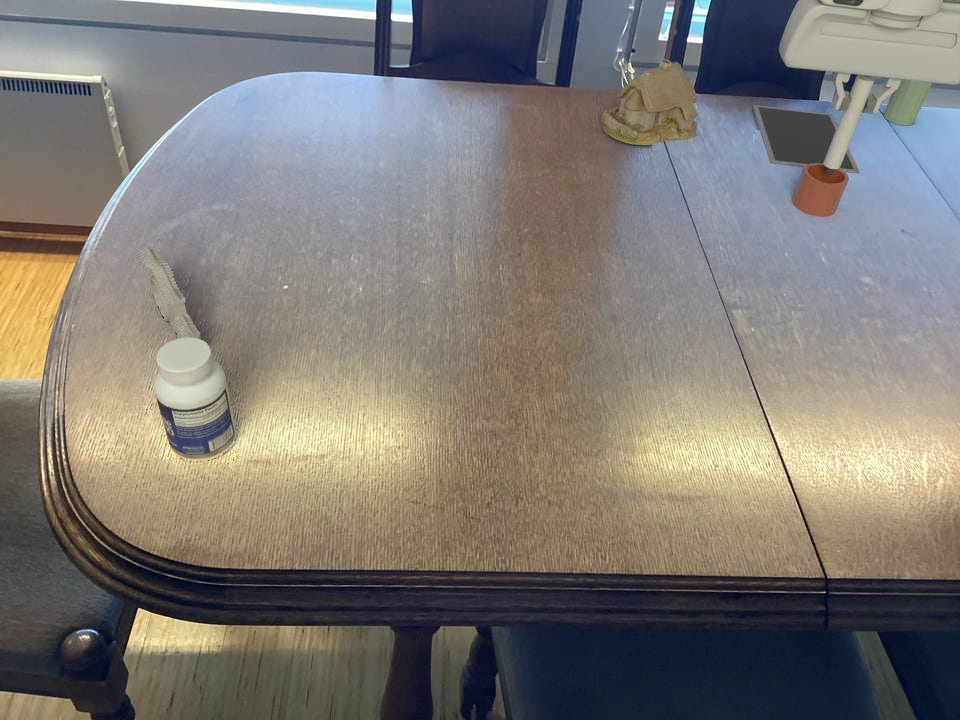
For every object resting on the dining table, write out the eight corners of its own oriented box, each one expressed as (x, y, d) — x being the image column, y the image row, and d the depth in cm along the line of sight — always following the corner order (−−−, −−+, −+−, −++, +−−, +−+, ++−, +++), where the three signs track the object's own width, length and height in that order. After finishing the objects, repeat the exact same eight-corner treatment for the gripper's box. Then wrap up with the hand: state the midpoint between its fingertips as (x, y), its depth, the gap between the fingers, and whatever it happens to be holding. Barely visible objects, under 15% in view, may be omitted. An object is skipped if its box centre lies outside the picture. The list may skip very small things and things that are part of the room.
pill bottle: (171, 421, 70) (148, 334, 63) (236, 414, 71) (220, 327, 64) (168, 469, 66) (143, 381, 59) (237, 460, 67) (220, 374, 60)
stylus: (835, 169, 101) (872, 75, 93) (838, 177, 100) (876, 82, 92) (818, 167, 101) (854, 73, 93) (822, 175, 100) (858, 80, 92)
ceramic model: (657, 104, 124) (672, 38, 117) (712, 135, 117) (731, 67, 111) (587, 124, 117) (599, 55, 111) (641, 158, 111) (657, 86, 104)
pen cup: (909, 114, 128) (929, 70, 123) (917, 127, 124) (938, 82, 120) (879, 110, 128) (898, 66, 123) (887, 123, 125) (906, 79, 120)
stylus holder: (829, 200, 106) (843, 165, 102) (838, 222, 102) (853, 187, 98) (787, 195, 106) (800, 160, 103) (794, 217, 102) (808, 182, 99)
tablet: (830, 119, 124) (832, 113, 124) (857, 177, 111) (860, 171, 110) (751, 109, 125) (753, 104, 124) (768, 166, 112) (770, 161, 111)
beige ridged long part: (206, 356, 76) (196, 306, 72) (187, 363, 75) (175, 312, 71) (165, 287, 83) (153, 238, 79) (147, 292, 82) (134, 243, 78)
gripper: (991, -15, 88) (935, 108, 97) (799, -34, 88) (761, 89, 98) (1013, 5, 83) (952, 132, 92) (810, -15, 84) (769, 112, 93)
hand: (852, 110), depth 95 cm, fingers closed on stylus, 2 cm apart
